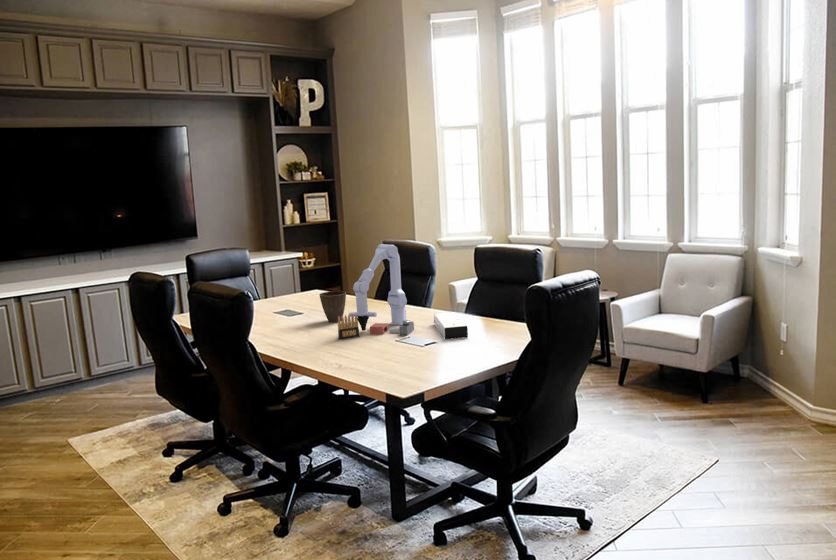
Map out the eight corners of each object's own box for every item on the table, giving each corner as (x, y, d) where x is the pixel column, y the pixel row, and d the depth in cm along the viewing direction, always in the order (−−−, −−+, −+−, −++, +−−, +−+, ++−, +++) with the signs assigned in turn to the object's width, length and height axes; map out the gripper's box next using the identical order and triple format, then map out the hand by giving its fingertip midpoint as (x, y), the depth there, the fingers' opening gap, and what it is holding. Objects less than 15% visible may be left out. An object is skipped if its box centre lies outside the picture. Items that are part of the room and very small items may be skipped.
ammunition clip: (339, 339, 342) (337, 316, 340) (338, 339, 343) (336, 315, 341) (359, 336, 345) (358, 313, 343) (358, 336, 347) (356, 312, 345)
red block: (375, 330, 357) (375, 323, 356) (388, 330, 355) (387, 323, 354) (370, 334, 349) (369, 326, 349) (383, 334, 347) (382, 327, 347)
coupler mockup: (393, 329, 356) (393, 318, 355) (414, 329, 353) (413, 318, 352) (386, 335, 345) (385, 323, 344) (407, 335, 342) (406, 323, 341)
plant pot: (317, 324, 380) (315, 296, 377) (327, 318, 394) (325, 290, 391) (342, 324, 376) (340, 295, 373) (351, 318, 390) (349, 290, 388)
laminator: (467, 338, 331) (467, 325, 330) (443, 340, 330) (442, 328, 329) (455, 323, 364) (454, 312, 363) (432, 325, 363) (431, 313, 362)
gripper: (346, 306, 351) (347, 331, 353) (372, 306, 346) (374, 332, 349) (351, 303, 357) (353, 328, 359) (377, 303, 353) (378, 328, 355)
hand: (363, 330), depth 355 cm, fingers closed
